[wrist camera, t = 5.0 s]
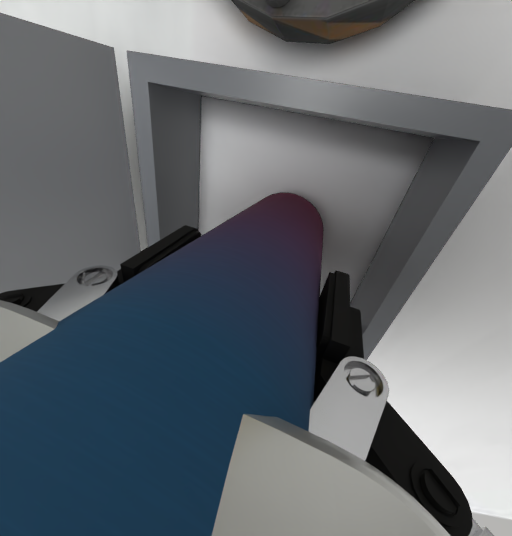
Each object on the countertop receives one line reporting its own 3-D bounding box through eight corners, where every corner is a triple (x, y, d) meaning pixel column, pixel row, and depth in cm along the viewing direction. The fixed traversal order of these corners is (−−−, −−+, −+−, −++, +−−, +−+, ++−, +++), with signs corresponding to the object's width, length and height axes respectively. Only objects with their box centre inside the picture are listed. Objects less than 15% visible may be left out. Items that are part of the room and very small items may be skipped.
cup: (261, 155, 14) (-428, 376, 2) (362, 212, 13) (511, 1014, 1) (225, 244, 18) (-46, 503, 5) (302, 289, 17) (200, 665, 5)
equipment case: (467, 119, 12) (1070, 65, 2) (349, 332, 21) (356, 514, 11) (153, 67, 15) (-197, -51, 5) (166, 270, 24) (44, 368, 14)
